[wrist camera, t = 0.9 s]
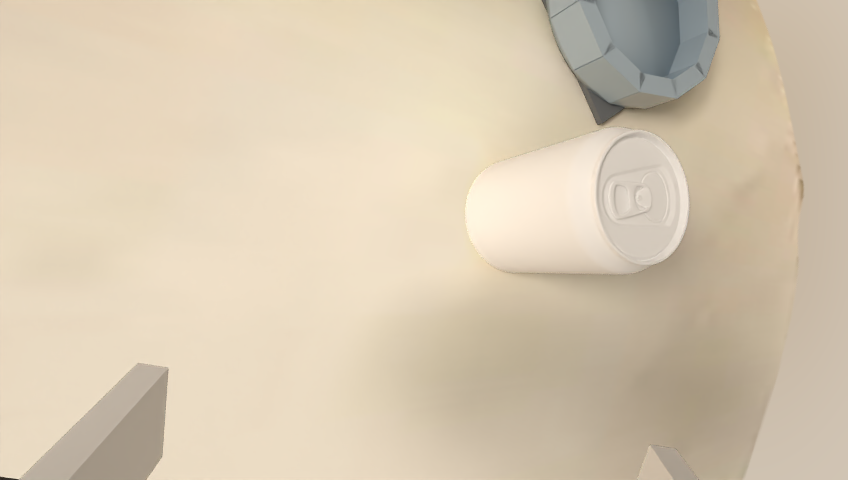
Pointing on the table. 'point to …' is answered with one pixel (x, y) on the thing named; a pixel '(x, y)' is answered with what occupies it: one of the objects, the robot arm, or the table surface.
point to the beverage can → (581, 206)
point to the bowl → (636, 46)
